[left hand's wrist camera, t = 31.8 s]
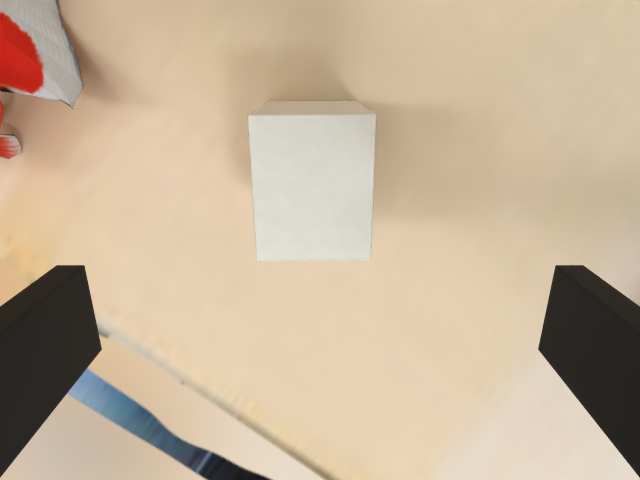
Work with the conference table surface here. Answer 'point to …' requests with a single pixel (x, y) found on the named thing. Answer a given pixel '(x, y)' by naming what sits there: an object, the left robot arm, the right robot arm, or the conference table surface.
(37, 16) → the fish
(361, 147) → the brick
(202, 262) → the conference table surface
